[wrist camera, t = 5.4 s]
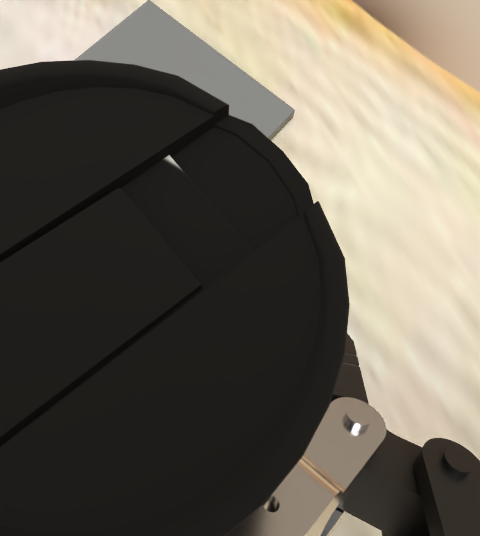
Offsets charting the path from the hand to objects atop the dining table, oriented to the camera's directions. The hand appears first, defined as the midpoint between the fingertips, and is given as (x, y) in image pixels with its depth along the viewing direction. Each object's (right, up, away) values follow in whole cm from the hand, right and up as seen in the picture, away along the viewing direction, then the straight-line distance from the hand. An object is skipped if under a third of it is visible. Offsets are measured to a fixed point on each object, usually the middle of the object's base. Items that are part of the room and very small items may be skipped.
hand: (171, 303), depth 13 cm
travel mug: (-1, -4, +11) cm, 11 cm away
